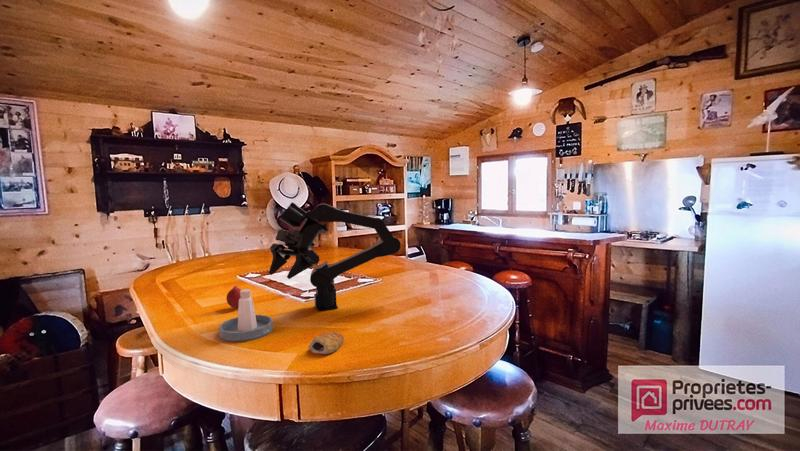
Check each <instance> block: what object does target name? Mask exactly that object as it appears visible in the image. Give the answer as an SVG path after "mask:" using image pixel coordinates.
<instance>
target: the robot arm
mask: <svg viewBox="0 0 800 451" xmlns="http://www.w3.org/2000/svg"><path fill="white" fill-rule="evenodd" d="M314 219H316V220H314ZM279 220H280V221H282V222H284V223H285V224H287V225H288V226H290V227H292V228H293V229H291V230H285V229H278V230H277V234H276V236H275V241H280V242H283V243H272V244H271V246H270V247H269V250H270V253H271V254H272V260H271V264H270V268H269V271H268V275H270V276H272V275H274V274H275V273H276V272H277V271H278V270H280V269H281V268H282V267H283V266H284V265H285V264H286V263H288V260H289V259H290V258H291V257H295V260H294V263H293V264H292V267H291V268H290V270H289V271H288V274H287V275H286V278H287V279H288V280H290V279H292V278H294V277H295V276H297V275H298V274H300V273H302V272H303V271H306V270H308V269H309V268H313V267H314V266H315V268H313V269H312V270H311V273H310V277H309V278H310V279H309V281H310V283H311V286H313V287H315V293H314V294H313V297H314V306H315V309H317V311H318V312H319V311H327V310H334V309H336V310H337V309H338V308H339V307H338V305H337V289H336V287H335V278H337V277H338V276H339V275H341V274H344V273H347V272H348V271H350V270H353V269H355V268H357V267H359V266H362V265H364V264H366V263H368V262H370V261H372V260H374V259H376V258H381V257H387V256H392V255H395V254H397V253H399V251H400V250H401V245H402V244H401V241H400V240H399V238H397V237H396V236H394V235H393V234H392V233H391V231H390V230H389V228H388V227H387V225H386V224H385V222H384V220H383V219H382V218H380V217H374V216H369V215H365V214H359V213H355V212H350V211H345V210H342V209H341V208H337V207H335V206H333V205H330V204H327V203H323V202H322V203H320V204H317V205H316V207H314V209H308V210H307V211H305V210H304V209H302V208H301V207H300V206H298V205H297V204H296V203H295V202H290V204H289V205H288V206H287V208H286V209H284V211H283V212H282V214H281V215H280V217H279ZM303 222H304V224H303ZM321 222H323V223H321ZM324 222H325V224H324ZM326 223H346V224H349V225H355V226H359V227H364V228H368V229H369V228H370V229H373V230H375V232H376V234H377V235H378V237H379V238H380V239H379V240H377V241H376V242H375V243H374V244H373V245H371V246H370V247H367V248H365V249H363V250H360V251H359V252H357V253H354V254H352V255H350V256H348V257H346V258H345V257H344V258H343V259H340V260H339V261H337V262H334V263H329V262H328V260H325V261H324V262H322V263H320V259H321V258H320V255H319V254H318V253H317V252H316V251H315V250H314V249H313V248H314V247H315V245H316V244H315V243H314V242H315V240H316V239H317V237H318V236H319V234H320V233H321V234H323V235H325V234H326V233H327V232H328V227H327V224H326ZM302 224H303V225H302ZM300 227H301V228H300ZM295 228H299V230H297V229H295ZM319 263H320V264H319Z"/></svg>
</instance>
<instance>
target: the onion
mask: <svg viewBox="0 0 800 451" xmlns="http://www.w3.org/2000/svg"><path fill="white" fill-rule="evenodd" d="M241 290H242V289H241V288H239V286H238V285H236V284H235V285H233V287H232V288H230V290H229V291H228V292H227V294H226V299H225V300H226V303H227V304H228V306H230V307H231V308H234V309H238V308H239V299H240V298H241V295H240V291H241Z"/></svg>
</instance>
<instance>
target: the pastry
mask: <svg viewBox="0 0 800 451" xmlns="http://www.w3.org/2000/svg"><path fill="white" fill-rule="evenodd" d="M344 341H345V338H344V335H343V334H341V333H339V332H327V333H320V334H319V335H318V336H314V337H313V339H312V340H311V341H310V343H309V345H308V350H309V351H310V352H311V353H312V354H313V353H314V354H318V355H319V354H321V355H331V354H333V353H335V351H338V350H339V349H340V348H341V347H342V346H343V344H344Z"/></svg>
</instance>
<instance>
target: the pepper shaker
mask: <svg viewBox="0 0 800 451" xmlns="http://www.w3.org/2000/svg"><path fill="white" fill-rule="evenodd" d="M251 293H252V290H251V289H249V288H244V289H241V291H240V295H241V298H240V299H239V308H237V309H238V313H237V317H238V331H249V330H253V329H255V328H257V322H256V316H255V315H256V312H255V304H254V300H253V299H254V298H253V297H252V296H251Z"/></svg>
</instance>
